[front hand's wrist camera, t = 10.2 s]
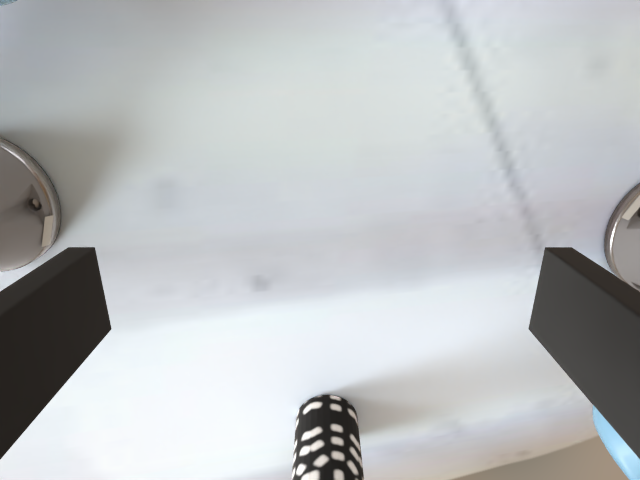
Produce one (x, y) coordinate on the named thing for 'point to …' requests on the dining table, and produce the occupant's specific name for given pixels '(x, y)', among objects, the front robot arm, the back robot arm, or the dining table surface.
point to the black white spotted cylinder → (327, 441)
